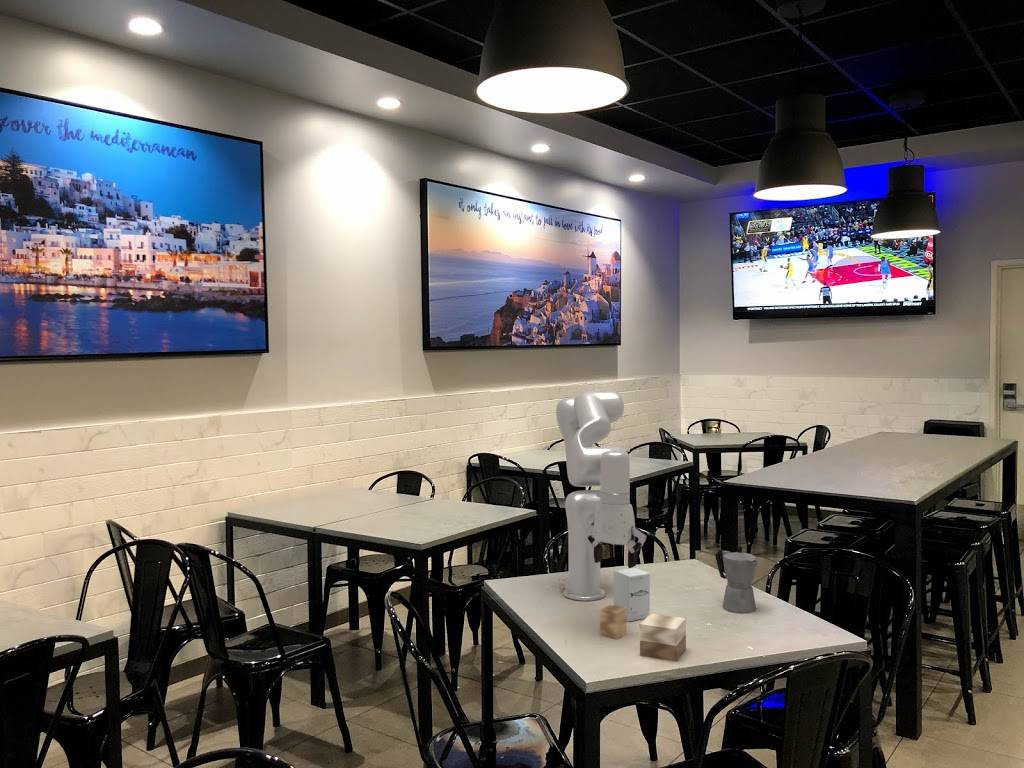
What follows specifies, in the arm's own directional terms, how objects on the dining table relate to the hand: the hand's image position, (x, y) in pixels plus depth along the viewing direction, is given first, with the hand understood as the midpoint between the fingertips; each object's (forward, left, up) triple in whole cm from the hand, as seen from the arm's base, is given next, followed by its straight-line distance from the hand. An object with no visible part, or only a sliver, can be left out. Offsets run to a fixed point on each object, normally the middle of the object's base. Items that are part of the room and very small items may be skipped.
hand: (615, 564), depth 216 cm
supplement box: (-3, +16, -19) cm, 25 cm away
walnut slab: (+16, -4, -19) cm, 25 cm away
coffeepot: (+18, +40, -19) cm, 47 cm away
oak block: (0, 0, -19) cm, 19 cm away
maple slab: (+15, -4, -15) cm, 22 cm away
